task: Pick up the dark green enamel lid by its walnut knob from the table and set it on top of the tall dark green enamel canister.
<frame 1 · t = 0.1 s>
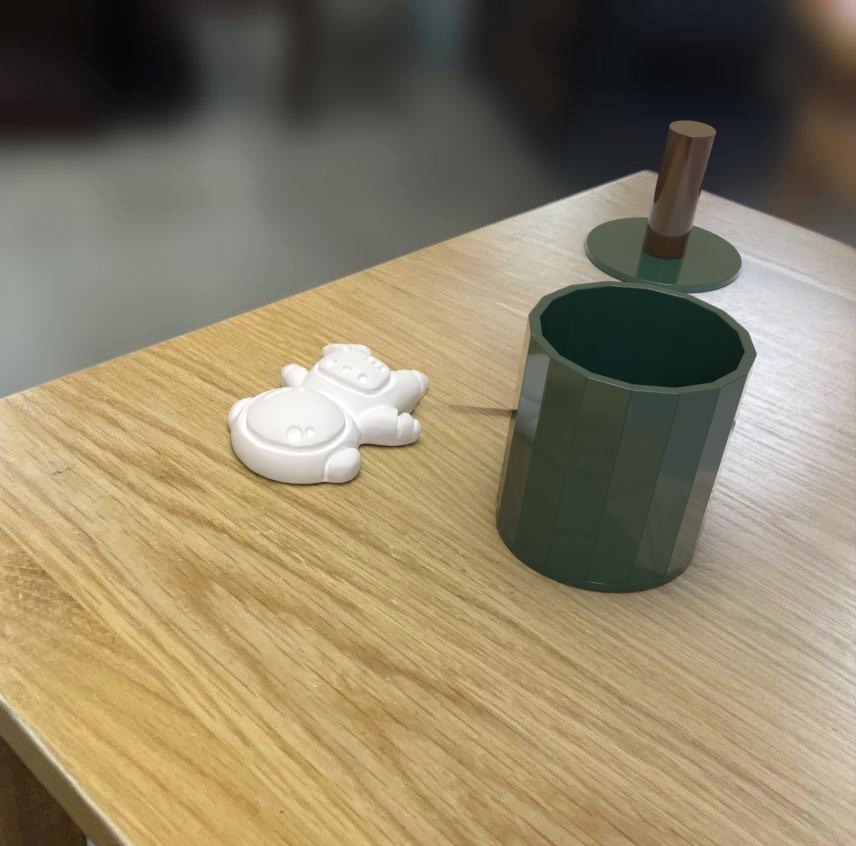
white cartoon animal figure: (332, 426, 64), on the table
lid: (661, 256, 80), point 1 cm above the table
canister: (594, 527, 58), on the table
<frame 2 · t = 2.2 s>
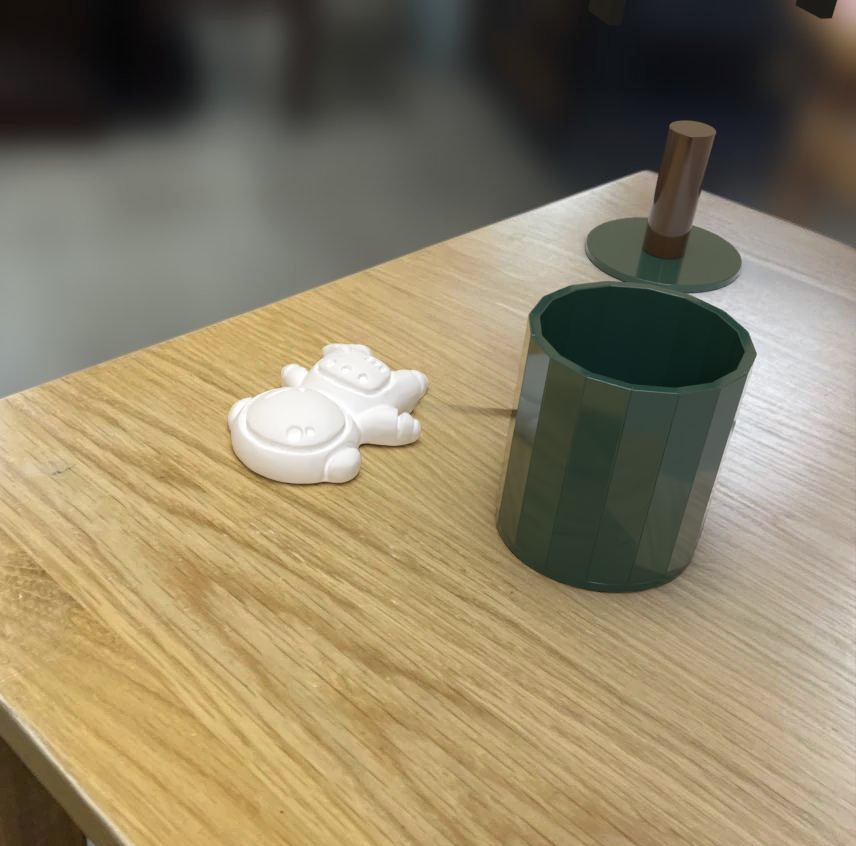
hand: (711, 15, 71), 16 cm above the table, tool pointing down, fingers open, 13 cm apart
nothing on the table moved.
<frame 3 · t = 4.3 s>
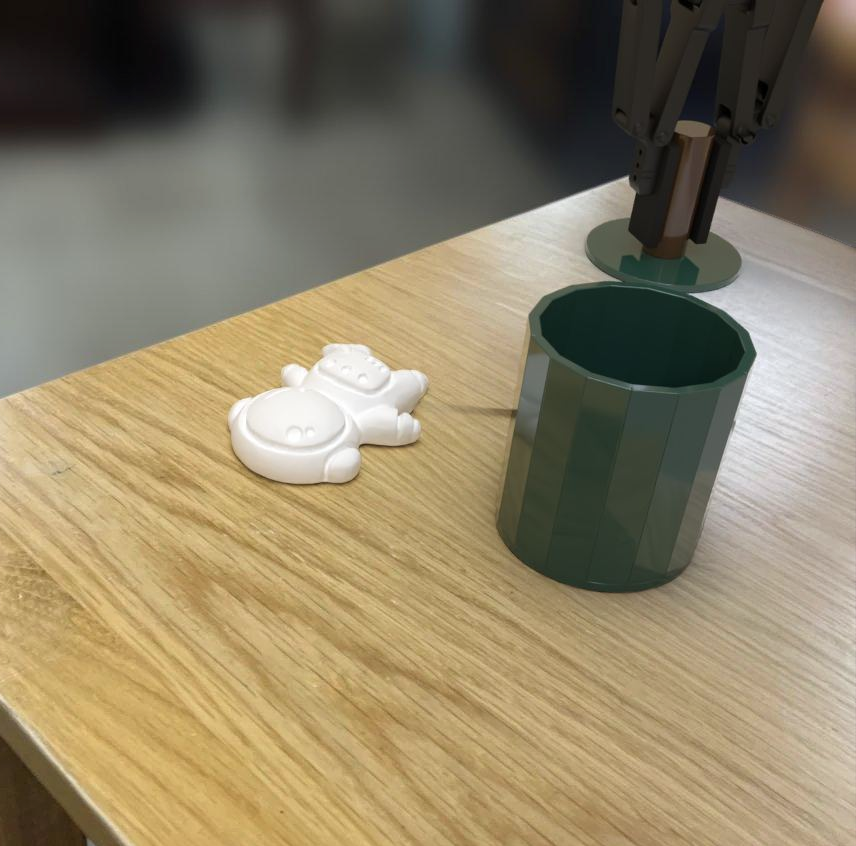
hand: (666, 236, 79), 2 cm above the table, tool pointing down, fingers closed on lid, 3 cm apart
lid: (661, 256, 80), point 1 cm above the table, touching gripper
everything else where it was.
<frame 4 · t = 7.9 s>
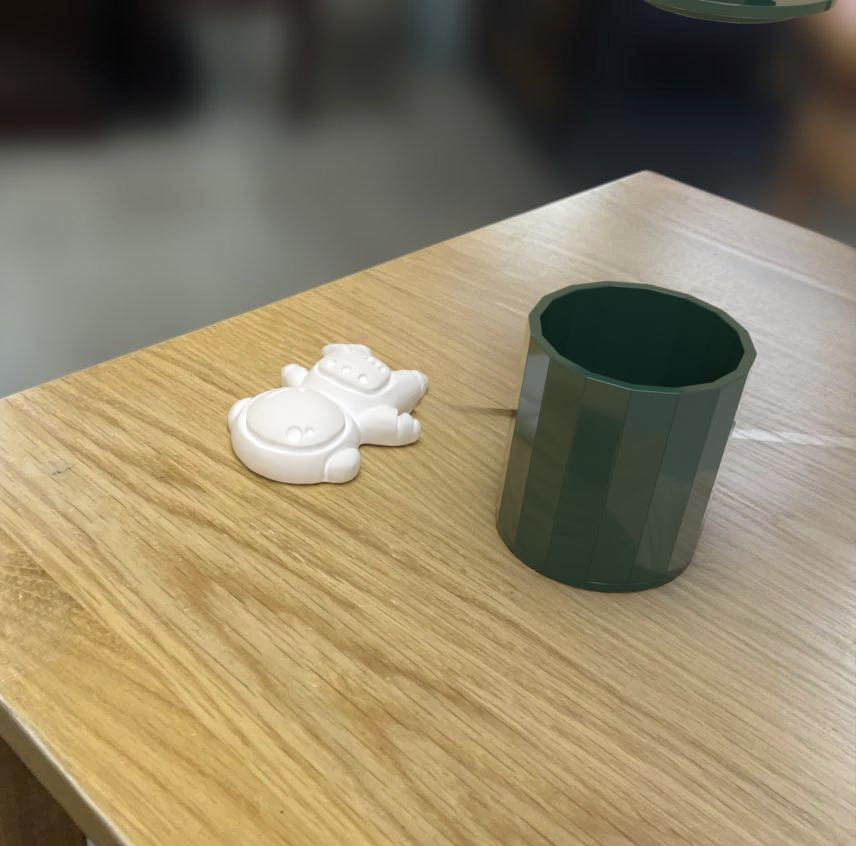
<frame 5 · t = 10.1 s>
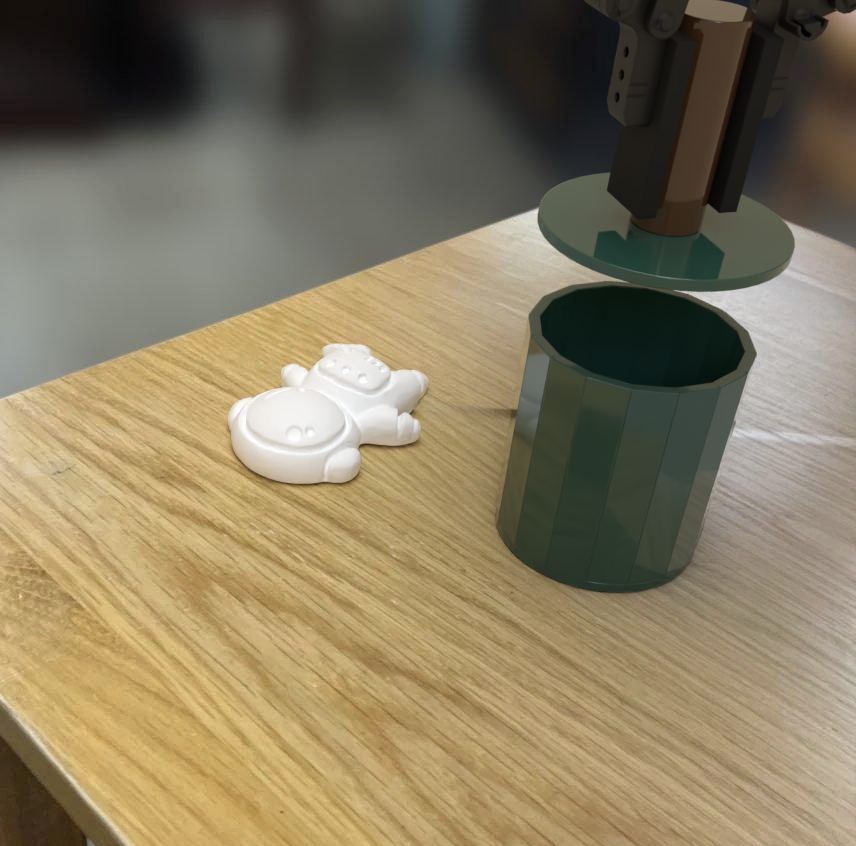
hand: (671, 199, 48), 16 cm above the table, tool pointing down, fingers closed on lid, 3 cm apart
lid: (662, 233, 49), point 15 cm above the table, touching gripper
everything else where it was.
when the fingers open (12 cm above the table, at t = 11.5 s): lid stays where it is, resting on canister.
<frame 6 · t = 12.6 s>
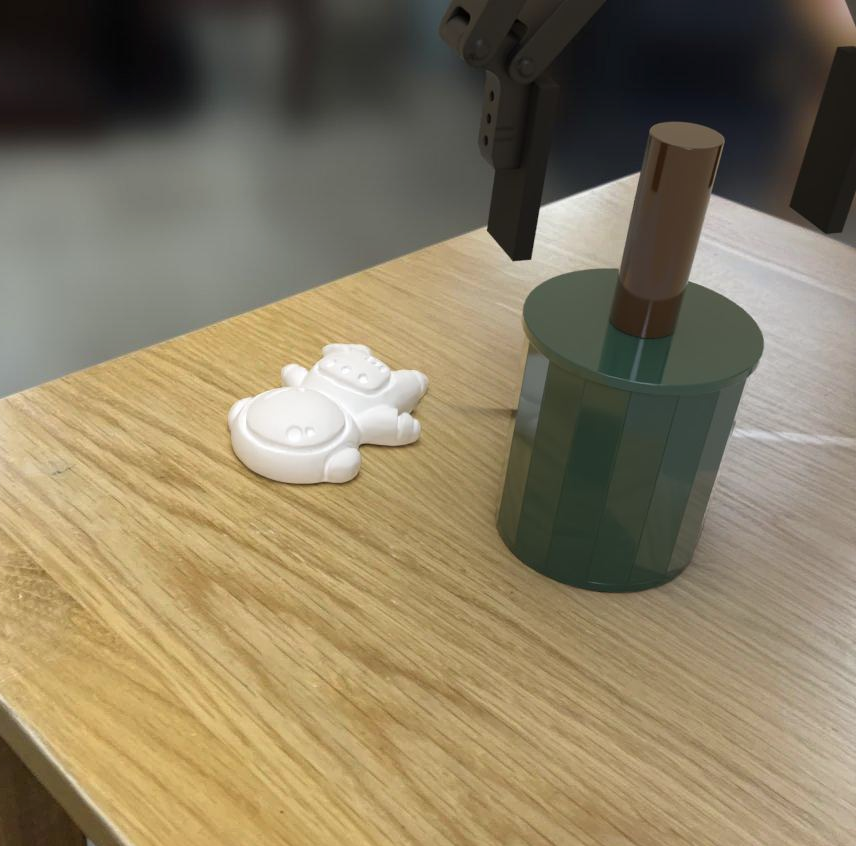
hand: (666, 232, 49), 15 cm above the table, tool pointing down, fingers open, 13 cm apart
lid: (639, 332, 52), point 10 cm above the table, touching canister
everything else where it was.
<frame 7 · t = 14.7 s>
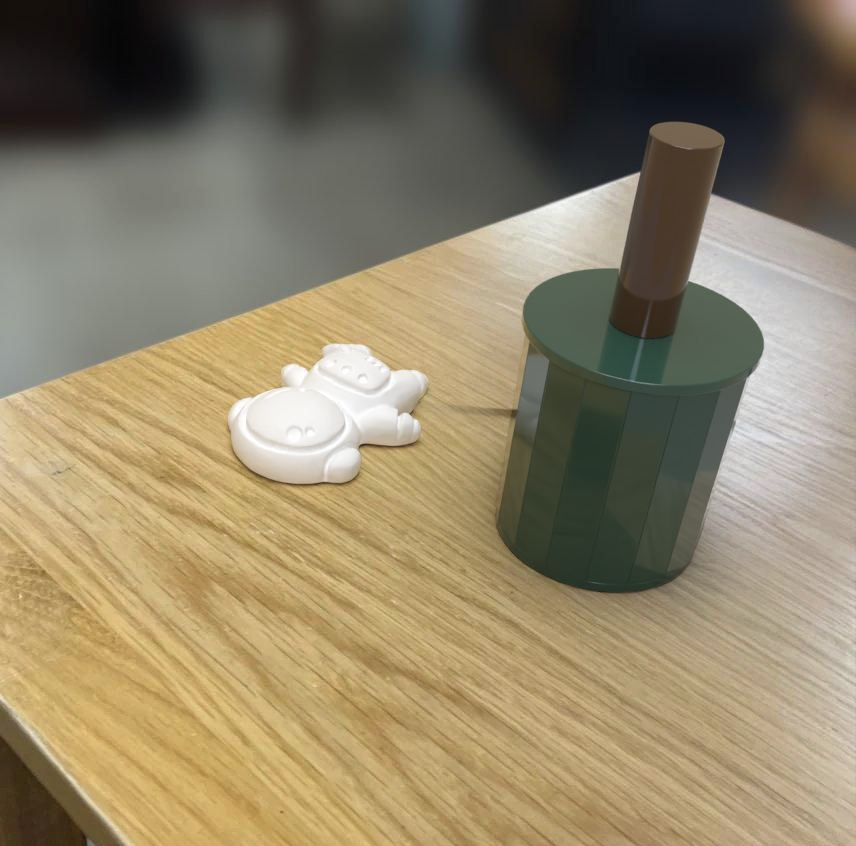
nothing on the table moved.
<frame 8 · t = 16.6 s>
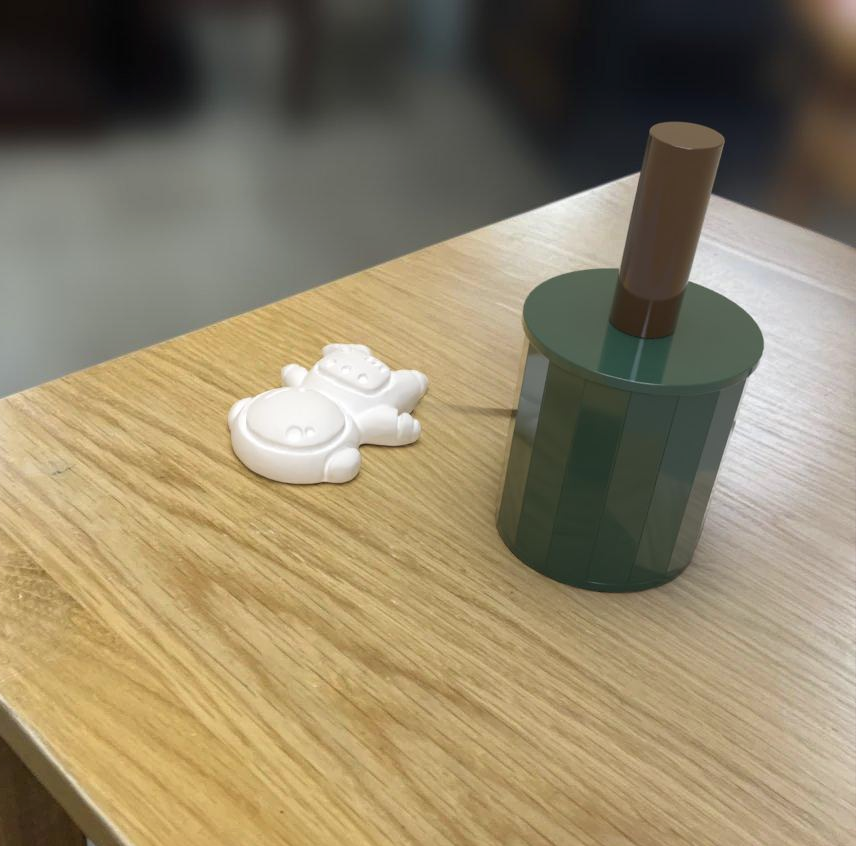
nothing on the table moved.
at the end: lid 0.1 cm off-centre on the canister, point 10.5 cm above the canister's base; lid tilted 0° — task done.
